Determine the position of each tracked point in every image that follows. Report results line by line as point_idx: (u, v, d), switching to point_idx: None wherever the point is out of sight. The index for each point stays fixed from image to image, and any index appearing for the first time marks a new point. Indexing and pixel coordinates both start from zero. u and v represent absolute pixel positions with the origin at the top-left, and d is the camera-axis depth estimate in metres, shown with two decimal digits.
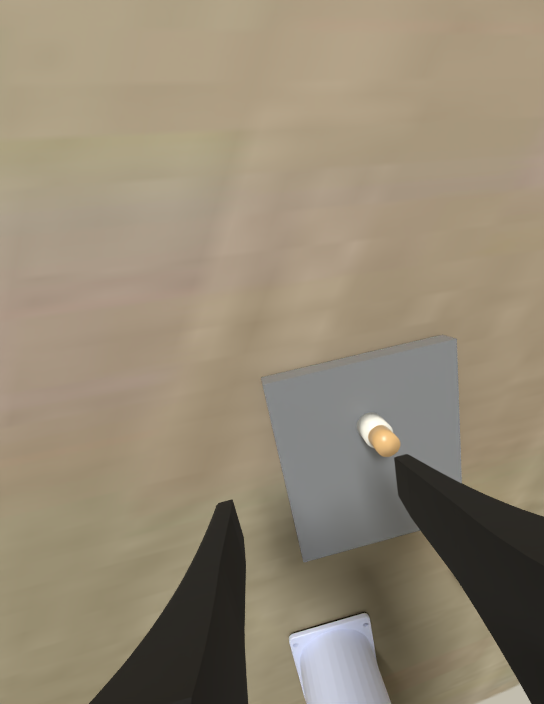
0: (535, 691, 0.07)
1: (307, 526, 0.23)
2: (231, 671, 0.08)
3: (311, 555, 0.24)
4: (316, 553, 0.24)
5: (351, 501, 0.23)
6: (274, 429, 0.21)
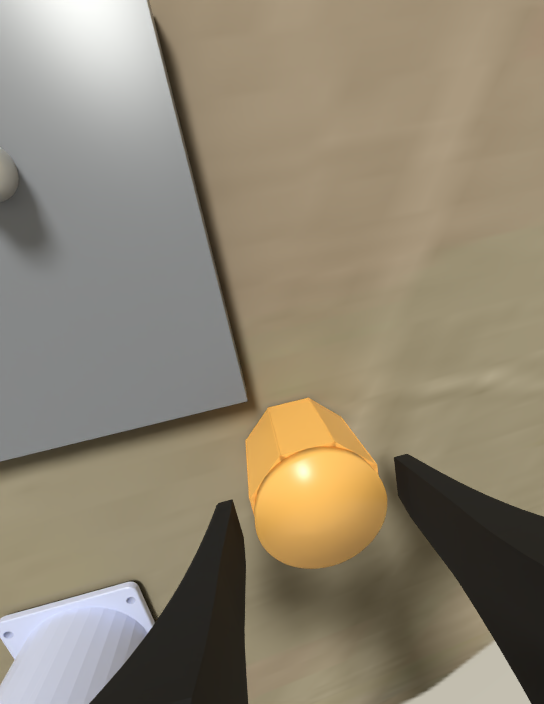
0: (535, 691, 0.07)
1: None
2: (231, 671, 0.08)
3: None
4: None
5: (1, 351, 0.12)
6: None
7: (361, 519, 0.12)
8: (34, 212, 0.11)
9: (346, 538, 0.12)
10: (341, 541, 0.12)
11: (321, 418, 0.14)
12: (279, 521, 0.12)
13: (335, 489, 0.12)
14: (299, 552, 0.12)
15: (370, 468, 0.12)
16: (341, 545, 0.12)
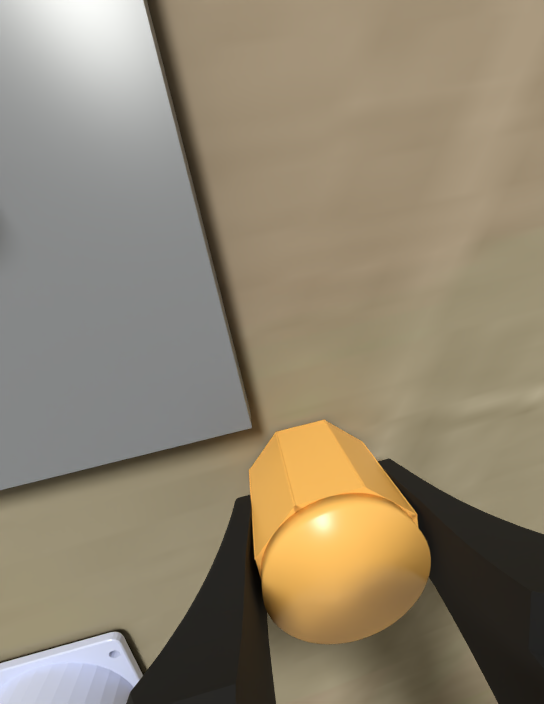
0: (505, 700, 0.07)
1: None
2: (261, 662, 0.08)
3: None
4: None
5: None
6: None
7: (397, 584, 0.09)
8: None
9: (377, 607, 0.10)
10: (371, 611, 0.10)
11: (343, 449, 0.11)
12: (293, 590, 0.09)
13: (366, 549, 0.09)
14: (318, 625, 0.10)
15: (411, 522, 0.09)
16: (371, 615, 0.10)
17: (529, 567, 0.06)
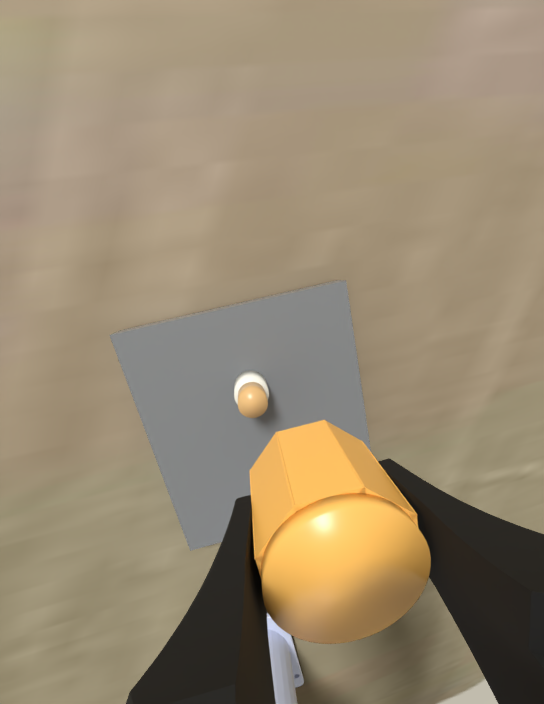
0: (506, 700, 0.07)
1: (189, 508, 0.20)
2: (261, 662, 0.08)
3: (198, 542, 0.21)
4: (205, 539, 0.21)
5: (239, 478, 0.20)
6: (132, 390, 0.18)
7: (397, 584, 0.09)
8: (271, 403, 0.19)
9: (378, 607, 0.10)
10: (371, 610, 0.10)
11: (343, 449, 0.11)
12: (293, 589, 0.09)
13: (365, 549, 0.09)
14: (318, 625, 0.10)
15: (411, 522, 0.09)
16: (371, 615, 0.10)
17: (530, 567, 0.06)
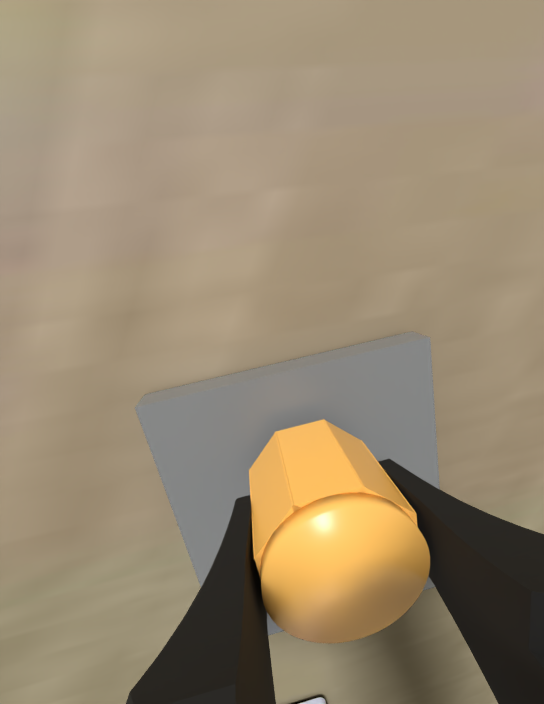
0: (506, 700, 0.07)
1: None
2: (260, 662, 0.08)
3: None
4: None
5: None
6: (160, 471, 0.14)
7: (397, 583, 0.09)
8: None
9: (377, 606, 0.10)
10: (371, 610, 0.10)
11: (342, 449, 0.11)
12: (292, 589, 0.09)
13: (365, 549, 0.09)
14: (317, 625, 0.10)
15: (410, 522, 0.09)
16: (370, 615, 0.10)
17: (530, 567, 0.06)
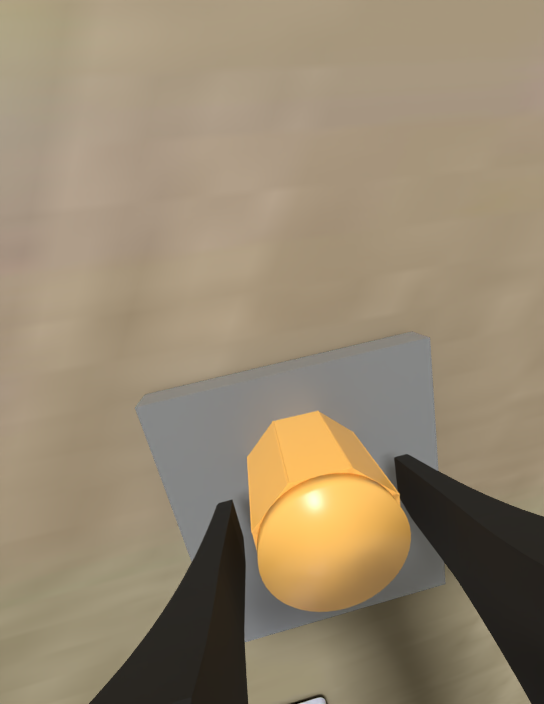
0: (535, 691, 0.07)
1: None
2: (231, 671, 0.08)
3: None
4: None
5: None
6: (161, 471, 0.14)
7: (380, 557, 0.10)
8: None
9: (362, 578, 0.11)
10: (356, 581, 0.11)
11: (334, 436, 0.12)
12: (286, 559, 0.10)
13: (352, 523, 0.10)
14: (308, 594, 0.10)
15: (393, 500, 0.10)
16: (356, 586, 0.11)
17: None
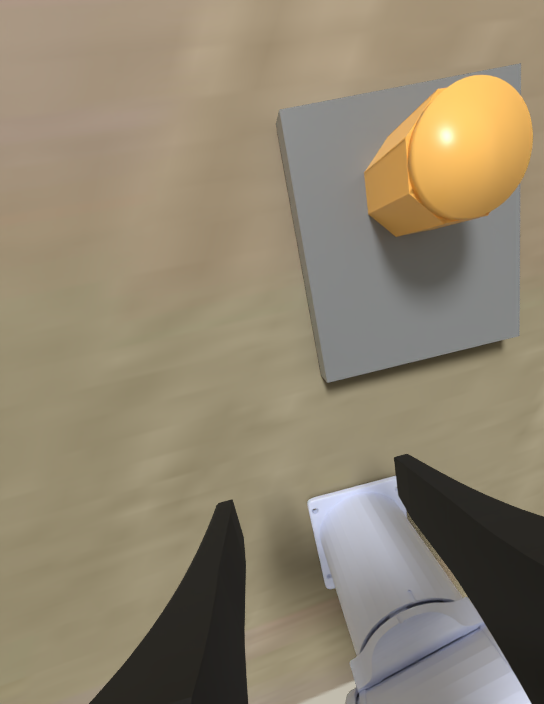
0: (535, 691, 0.07)
1: (332, 330, 0.19)
2: (231, 671, 0.08)
3: (336, 373, 0.20)
4: (343, 371, 0.20)
5: (386, 298, 0.19)
6: (293, 180, 0.17)
7: (507, 162, 0.13)
8: None
9: (491, 184, 0.13)
10: (486, 187, 0.13)
11: None
12: (436, 150, 0.13)
13: (489, 120, 0.12)
14: (448, 193, 0.13)
15: (522, 101, 0.12)
16: (486, 192, 0.13)
17: None
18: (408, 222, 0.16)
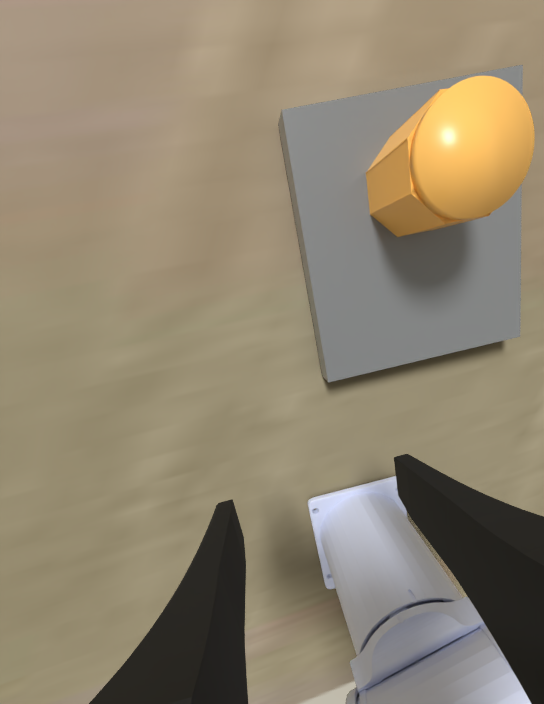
0: (535, 691, 0.07)
1: (333, 330, 0.19)
2: (231, 671, 0.08)
3: (337, 373, 0.20)
4: (344, 370, 0.20)
5: (387, 298, 0.19)
6: (295, 179, 0.17)
7: (509, 163, 0.13)
8: None
9: (493, 184, 0.13)
10: (488, 187, 0.13)
11: None
12: (438, 151, 0.13)
13: (491, 120, 0.13)
14: (450, 193, 0.13)
15: (524, 101, 0.13)
16: (487, 192, 0.13)
17: None
18: (410, 222, 0.16)
